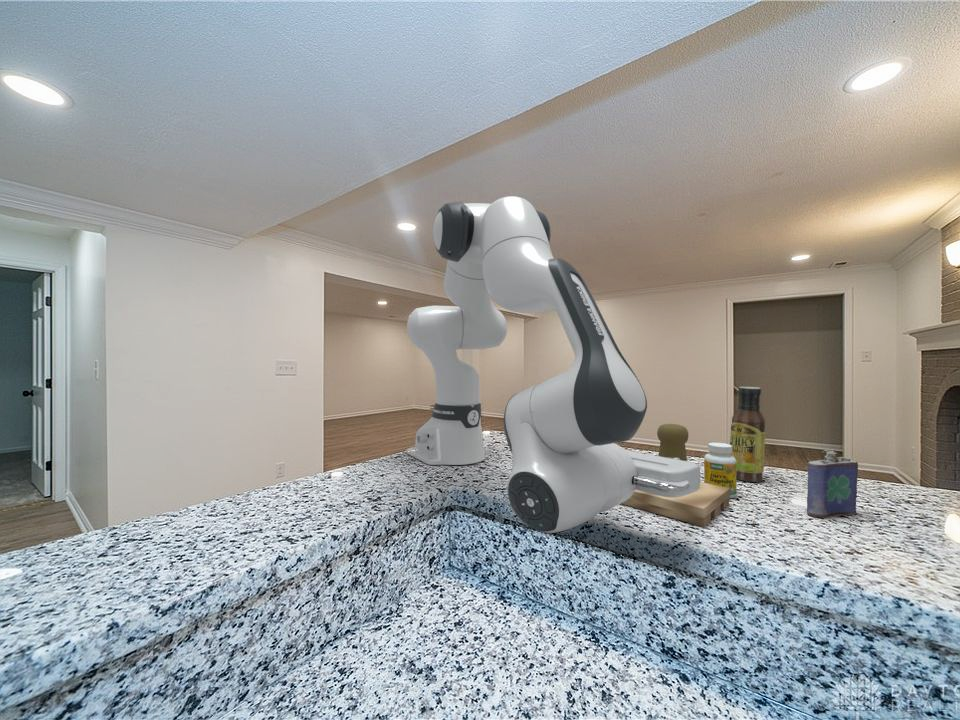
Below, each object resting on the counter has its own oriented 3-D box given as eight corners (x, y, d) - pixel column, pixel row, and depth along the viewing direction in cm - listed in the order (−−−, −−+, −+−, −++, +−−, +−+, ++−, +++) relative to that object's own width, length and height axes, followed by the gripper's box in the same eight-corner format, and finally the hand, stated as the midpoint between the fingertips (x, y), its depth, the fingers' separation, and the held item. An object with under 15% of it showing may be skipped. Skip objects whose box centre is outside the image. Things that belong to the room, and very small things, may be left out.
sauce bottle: (722, 476, 90) (723, 386, 89) (740, 473, 92) (741, 385, 92) (752, 485, 84) (754, 388, 84) (771, 481, 87) (772, 387, 86)
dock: (608, 501, 75) (608, 484, 75) (642, 484, 84) (642, 469, 84) (703, 528, 63) (703, 508, 63) (729, 504, 73) (730, 488, 73)
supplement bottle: (732, 491, 80) (733, 442, 80) (739, 500, 75) (739, 448, 75) (701, 488, 82) (702, 440, 82) (706, 497, 77) (706, 446, 77)
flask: (817, 519, 67) (818, 453, 67) (799, 512, 70) (800, 449, 69) (861, 514, 69) (862, 451, 68) (842, 508, 71) (843, 447, 71)
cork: (697, 489, 72) (697, 427, 72) (662, 489, 72) (663, 427, 72) (681, 479, 78) (681, 421, 78) (649, 479, 78) (649, 421, 78)
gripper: (680, 466, 49) (716, 448, 59) (543, 440, 64) (590, 429, 74) (679, 518, 49) (715, 491, 59) (543, 480, 64) (590, 464, 74)
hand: (645, 457), depth 67 cm, fingers open, 8 cm apart
